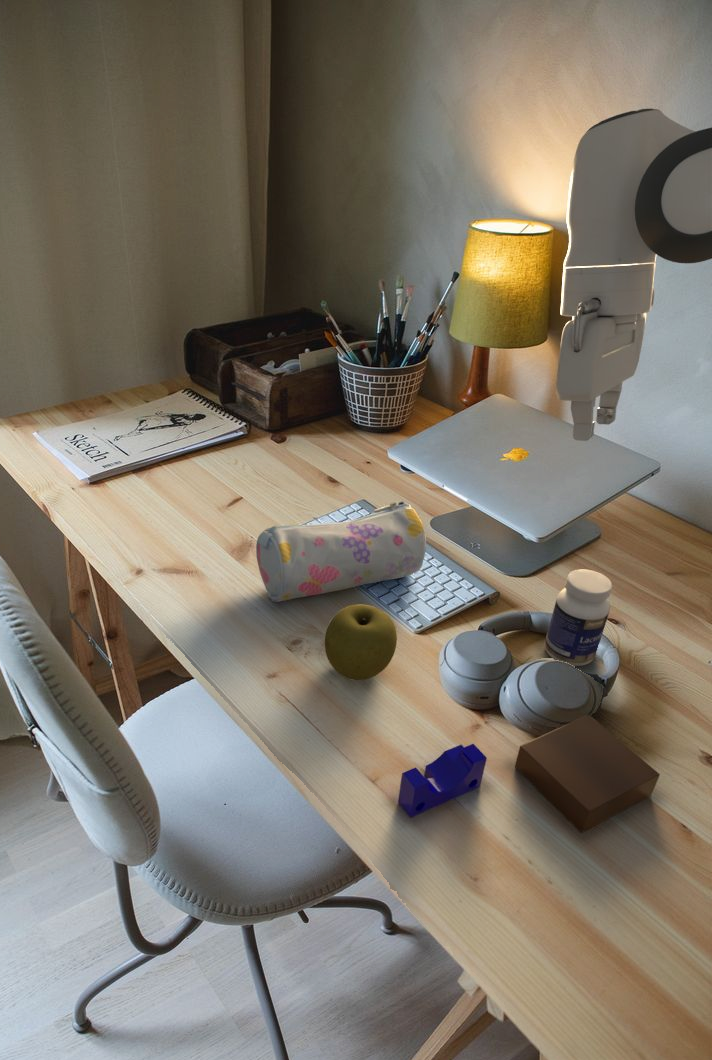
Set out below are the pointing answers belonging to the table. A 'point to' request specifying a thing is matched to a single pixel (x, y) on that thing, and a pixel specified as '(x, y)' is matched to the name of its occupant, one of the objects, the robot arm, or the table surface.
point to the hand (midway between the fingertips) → (594, 431)
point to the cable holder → (442, 779)
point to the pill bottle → (579, 618)
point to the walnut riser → (586, 772)
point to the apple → (360, 641)
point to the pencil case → (341, 553)
